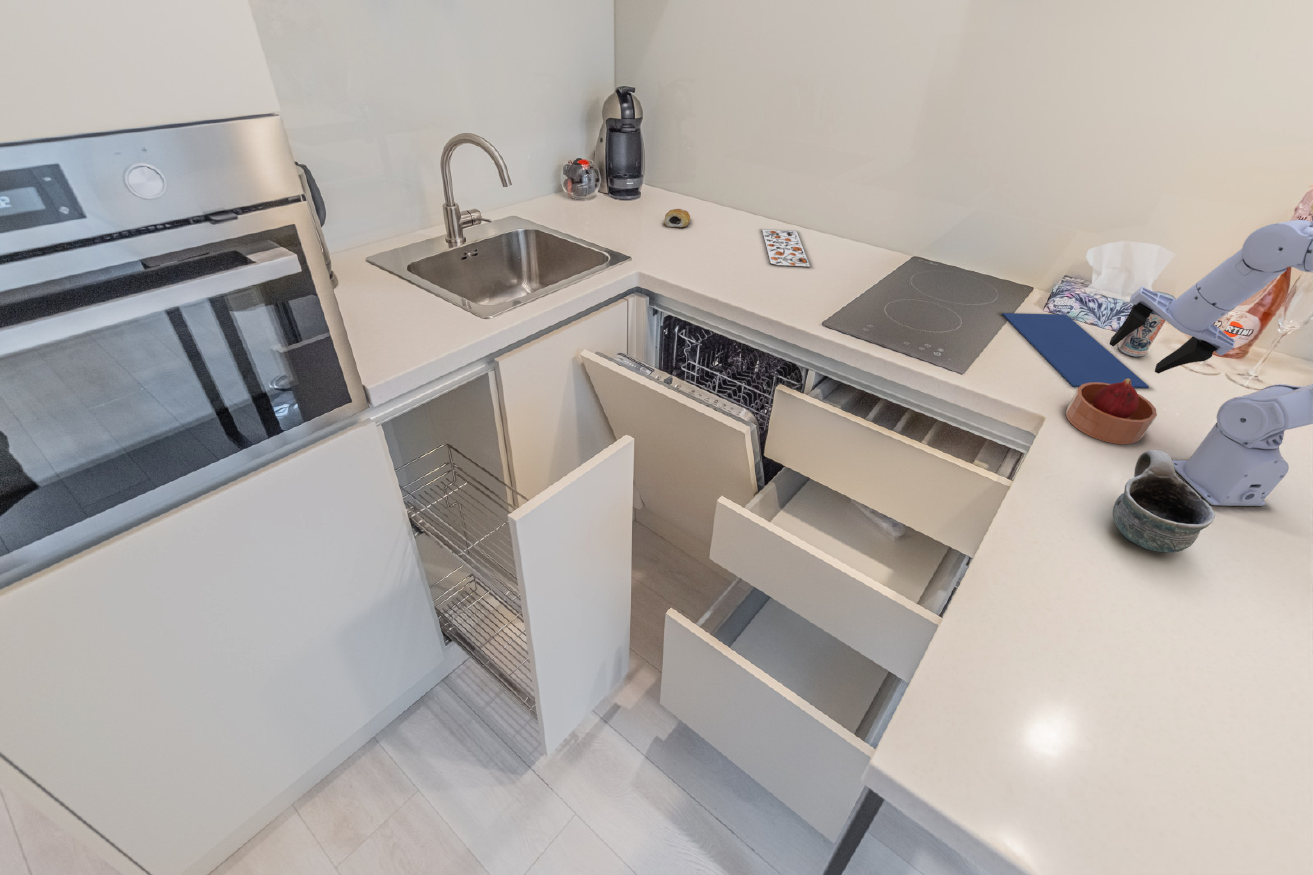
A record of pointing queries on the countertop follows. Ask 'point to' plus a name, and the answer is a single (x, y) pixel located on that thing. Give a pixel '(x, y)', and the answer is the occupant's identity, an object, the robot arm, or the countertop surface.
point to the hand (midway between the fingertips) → (1134, 355)
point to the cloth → (1072, 350)
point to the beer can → (1143, 335)
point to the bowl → (1108, 417)
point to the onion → (1117, 399)
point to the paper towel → (785, 248)
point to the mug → (1160, 507)
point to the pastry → (677, 218)
